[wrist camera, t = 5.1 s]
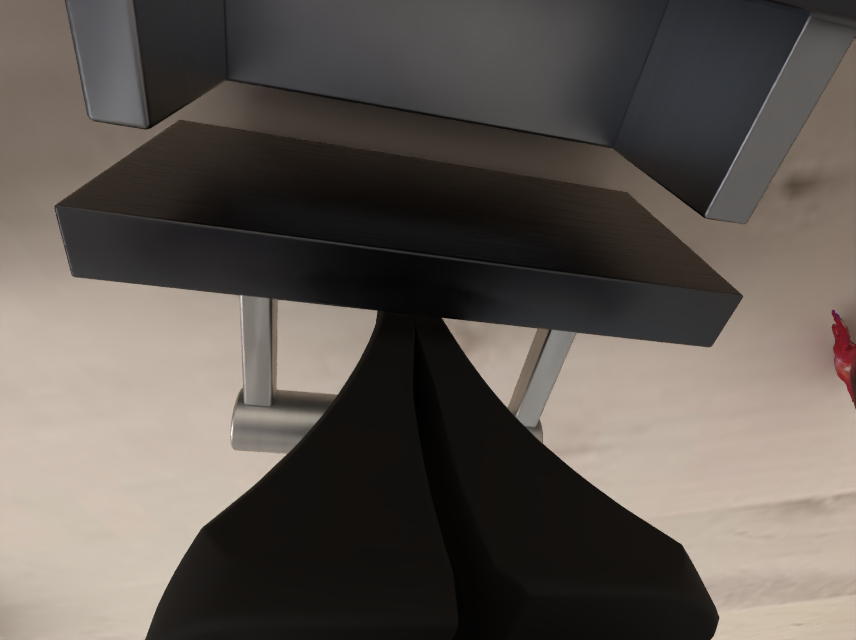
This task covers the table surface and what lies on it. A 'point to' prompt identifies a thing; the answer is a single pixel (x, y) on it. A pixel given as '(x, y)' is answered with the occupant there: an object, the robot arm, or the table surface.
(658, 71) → the pull-out tray box
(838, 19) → the small drawer cabinet
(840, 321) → the decorative bird figurine
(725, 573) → the table surface
